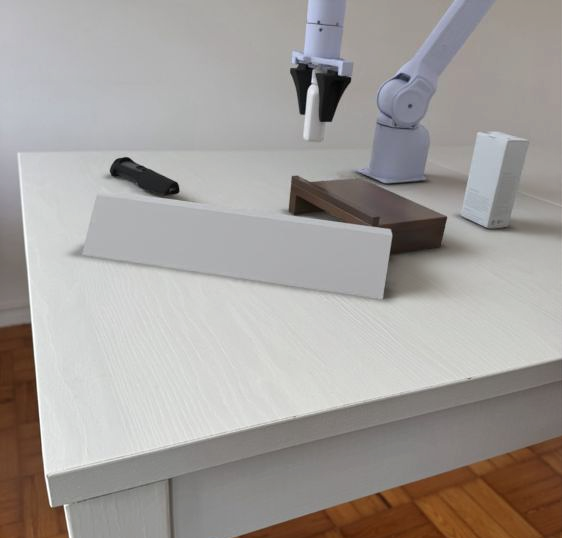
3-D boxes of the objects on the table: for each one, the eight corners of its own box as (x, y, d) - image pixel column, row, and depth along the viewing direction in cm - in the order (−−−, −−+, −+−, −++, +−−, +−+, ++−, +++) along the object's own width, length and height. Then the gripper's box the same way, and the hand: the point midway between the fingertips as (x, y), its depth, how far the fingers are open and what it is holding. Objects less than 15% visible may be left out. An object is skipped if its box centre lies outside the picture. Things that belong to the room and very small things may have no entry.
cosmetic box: (509, 227, 86) (534, 140, 79) (485, 229, 84) (509, 140, 78) (479, 213, 90) (501, 130, 84) (456, 215, 88) (477, 130, 82)
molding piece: (373, 325, 72) (385, 248, 74) (382, 299, 61) (396, 209, 63) (118, 286, 76) (135, 213, 77) (81, 255, 64) (102, 170, 66)
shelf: (356, 204, 89) (361, 170, 86) (440, 246, 76) (449, 208, 73) (288, 211, 83) (291, 175, 81) (366, 258, 70) (373, 217, 68)
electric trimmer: (162, 205, 82) (162, 182, 80) (107, 175, 91) (106, 154, 89) (185, 201, 84) (186, 179, 82) (129, 173, 93) (129, 152, 92)
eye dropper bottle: (332, 139, 101) (341, 61, 95) (317, 144, 97) (325, 63, 91) (309, 135, 103) (316, 58, 97) (293, 139, 99) (300, 59, 93)
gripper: (278, 19, 95) (272, 110, 102) (330, 27, 84) (319, 127, 91) (315, 22, 98) (307, 109, 105) (369, 29, 88) (356, 126, 95)
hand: (315, 118), depth 98 cm, fingers closed on eye dropper bottle, 5 cm apart
